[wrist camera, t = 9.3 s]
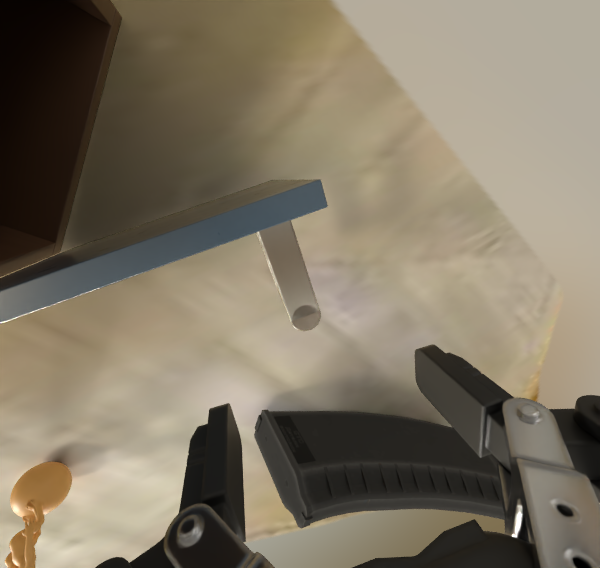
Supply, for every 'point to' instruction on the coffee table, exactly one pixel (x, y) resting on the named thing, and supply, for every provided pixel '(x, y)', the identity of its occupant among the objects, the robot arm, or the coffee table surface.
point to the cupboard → (47, 116)
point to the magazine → (373, 465)
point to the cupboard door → (182, 250)
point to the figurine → (35, 507)
